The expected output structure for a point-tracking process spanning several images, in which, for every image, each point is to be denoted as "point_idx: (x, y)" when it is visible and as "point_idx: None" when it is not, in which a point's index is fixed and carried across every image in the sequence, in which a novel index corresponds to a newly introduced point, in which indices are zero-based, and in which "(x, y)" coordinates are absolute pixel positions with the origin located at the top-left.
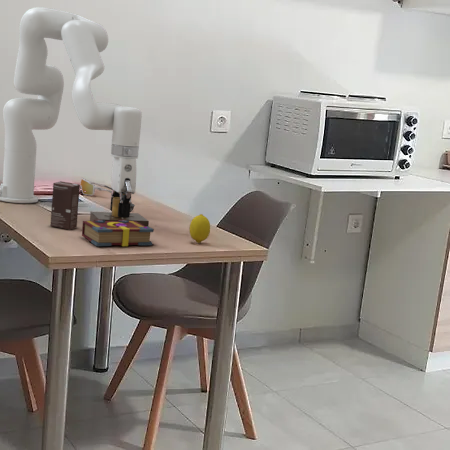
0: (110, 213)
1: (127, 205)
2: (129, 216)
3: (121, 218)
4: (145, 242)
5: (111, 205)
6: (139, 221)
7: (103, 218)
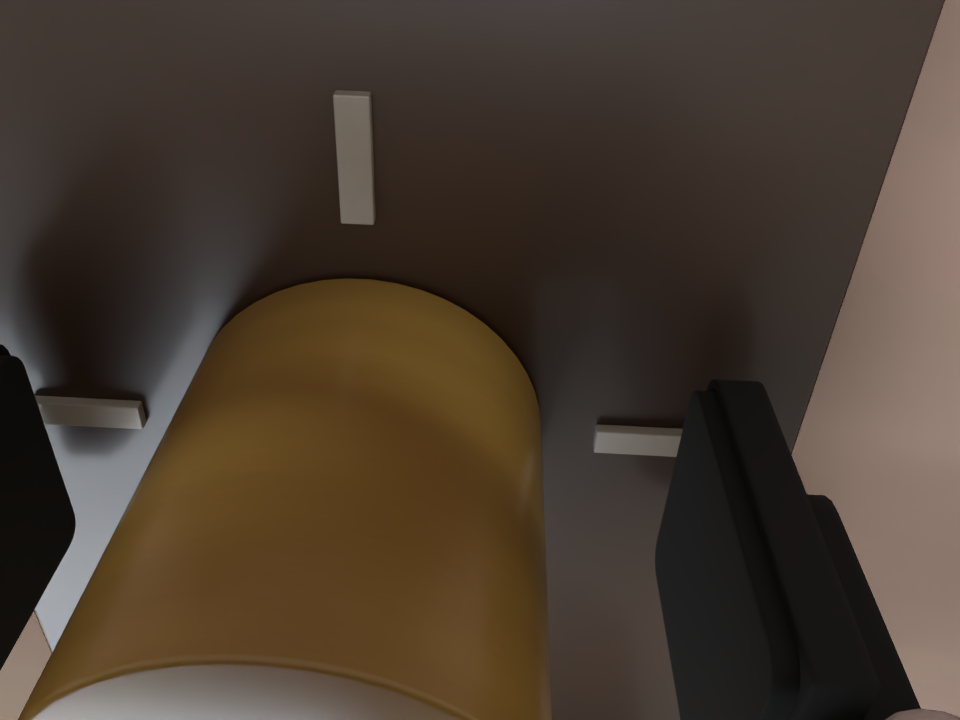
0: (121, 500)
1: (902, 706)
2: (370, 220)
3: (622, 451)
4: None
5: (22, 627)
6: (895, 108)
7: (626, 690)
